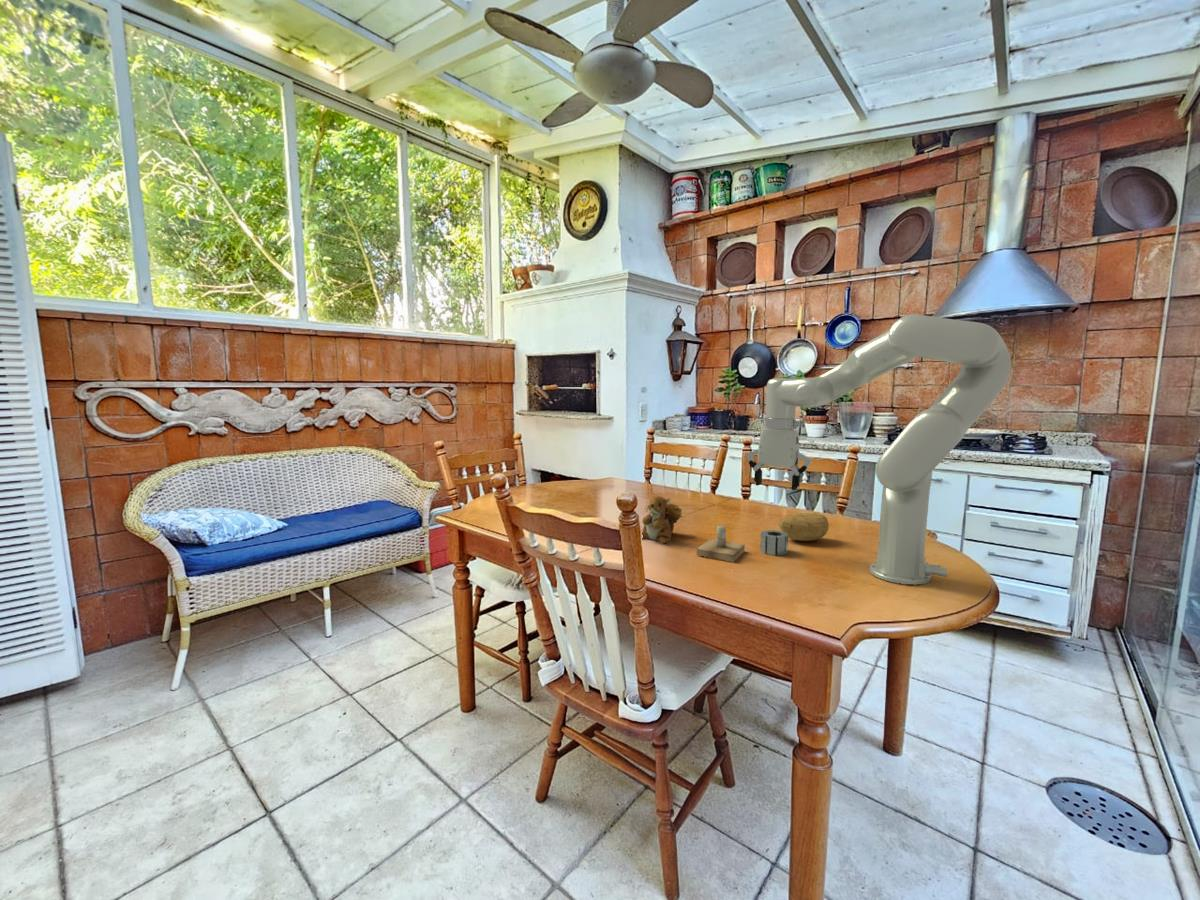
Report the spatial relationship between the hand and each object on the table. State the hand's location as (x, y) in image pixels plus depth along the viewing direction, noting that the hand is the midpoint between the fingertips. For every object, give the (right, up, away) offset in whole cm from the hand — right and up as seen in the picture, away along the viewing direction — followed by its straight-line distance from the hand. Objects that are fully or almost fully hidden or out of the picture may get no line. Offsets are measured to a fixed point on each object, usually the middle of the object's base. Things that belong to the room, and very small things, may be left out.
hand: (776, 486), depth 140 cm
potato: (+11, -17, +10) cm, 23 cm away
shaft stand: (-15, -18, 0) cm, 24 cm away
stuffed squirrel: (-30, -17, +16) cm, 38 cm away
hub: (0, -18, +1) cm, 18 cm away
